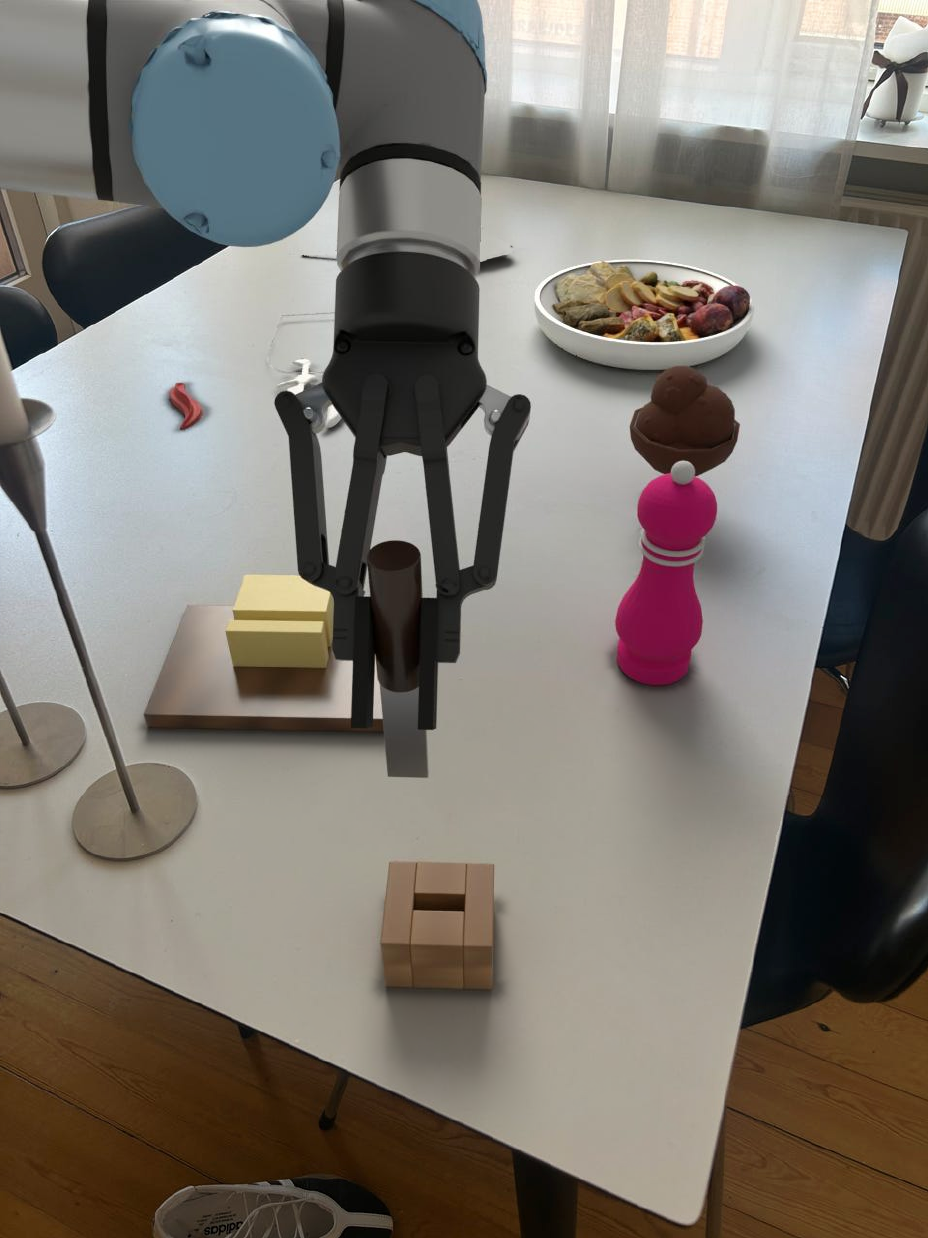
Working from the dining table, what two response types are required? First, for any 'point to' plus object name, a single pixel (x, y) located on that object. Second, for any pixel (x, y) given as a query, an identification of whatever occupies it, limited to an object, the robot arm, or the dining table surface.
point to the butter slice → (277, 643)
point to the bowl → (643, 313)
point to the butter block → (284, 601)
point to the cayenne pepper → (185, 405)
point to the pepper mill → (666, 578)
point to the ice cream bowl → (685, 423)
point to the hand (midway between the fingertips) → (394, 727)
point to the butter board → (247, 686)
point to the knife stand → (438, 925)
